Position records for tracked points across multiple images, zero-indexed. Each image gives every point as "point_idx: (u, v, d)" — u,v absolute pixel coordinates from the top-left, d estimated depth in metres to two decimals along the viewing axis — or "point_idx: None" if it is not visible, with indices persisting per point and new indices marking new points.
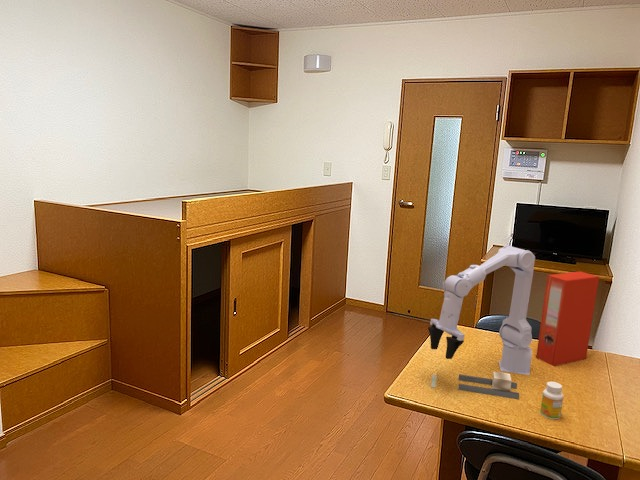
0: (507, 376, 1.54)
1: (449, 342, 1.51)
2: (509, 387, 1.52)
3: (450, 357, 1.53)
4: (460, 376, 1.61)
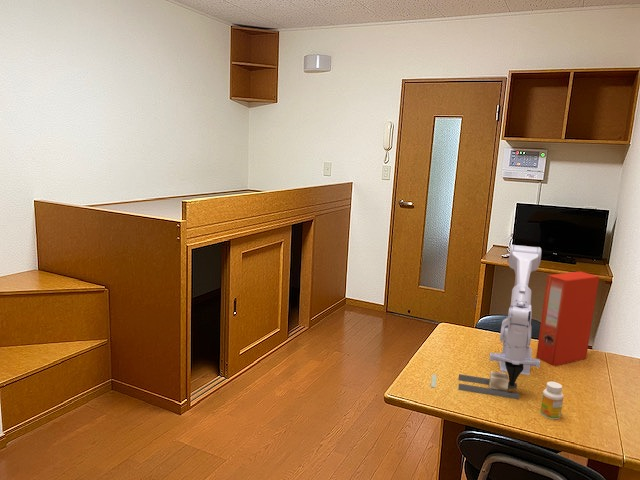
0: (504, 375, 1.54)
1: (519, 371, 1.50)
2: (506, 387, 1.52)
3: None
4: (460, 376, 1.61)
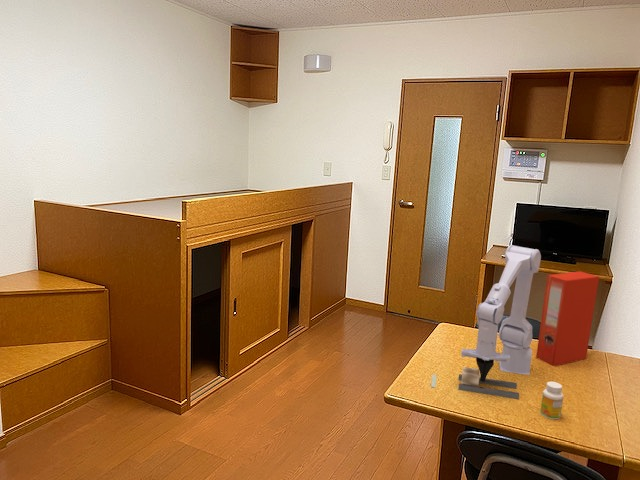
0: (476, 371, 1.57)
1: (489, 367, 1.53)
2: (477, 382, 1.54)
3: None
4: (460, 376, 1.61)
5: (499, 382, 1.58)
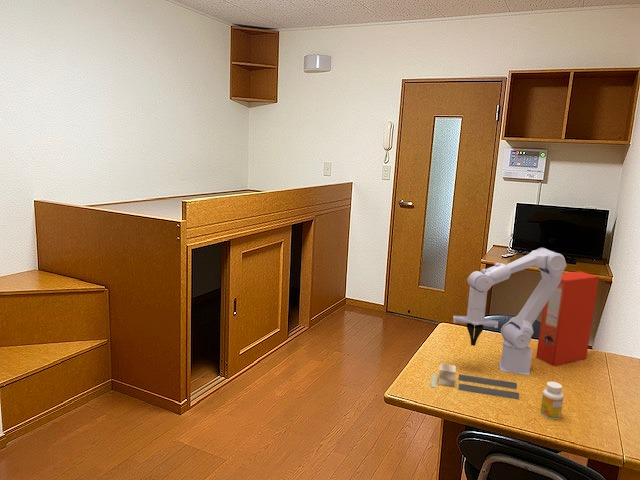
0: (452, 368, 1.59)
1: (479, 331, 1.64)
2: (453, 378, 1.56)
3: None
4: (460, 376, 1.61)
5: (499, 382, 1.58)
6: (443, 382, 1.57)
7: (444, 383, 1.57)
